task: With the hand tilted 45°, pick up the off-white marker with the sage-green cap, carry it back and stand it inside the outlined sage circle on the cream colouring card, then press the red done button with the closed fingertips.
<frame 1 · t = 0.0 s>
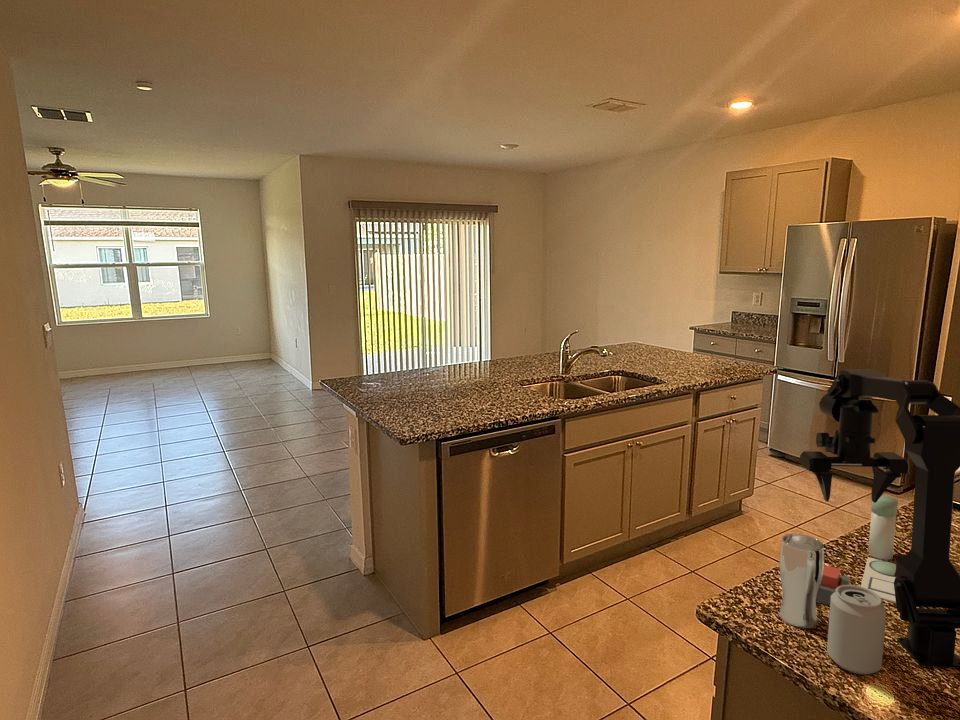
hand: (850, 501, 119), 15 cm above the counter, tool pointing down, fingers open, 9 cm apart
button housing: (824, 593, 111), on the counter
can: (853, 663, 92), on the counter
colouring card: (886, 580, 115), on the counter
beer glass: (797, 619, 104), on the counter
done button: (825, 577, 111), point 4 cm above the counter, slide at 0.0 cm
marker: (880, 554, 125), on the counter
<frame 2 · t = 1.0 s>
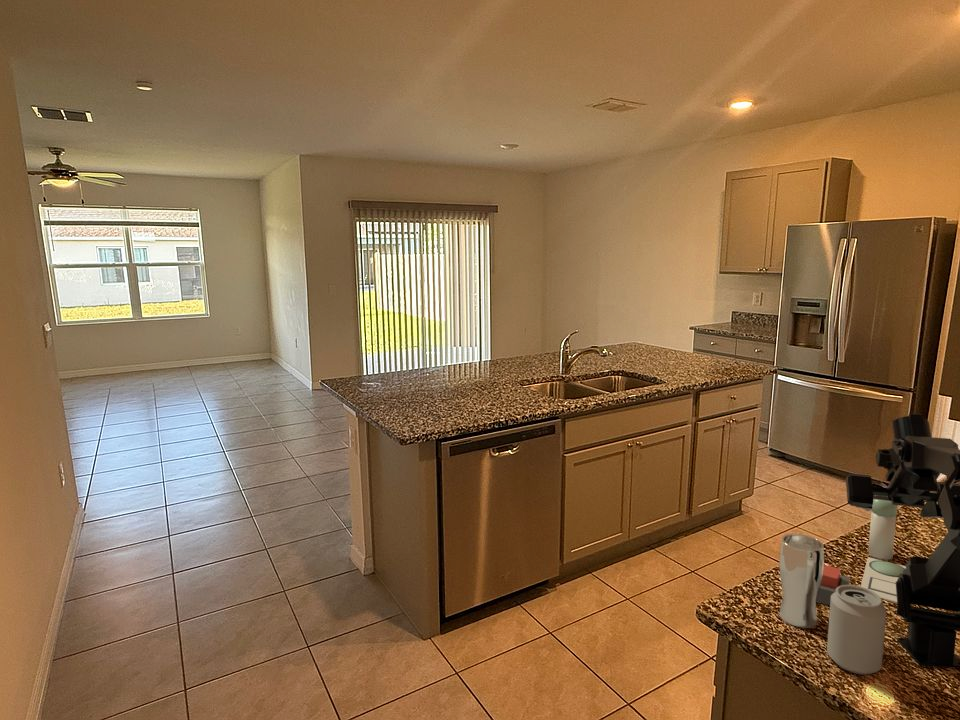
hand: (893, 511, 116), 13 cm above the counter, tool tilted 45°, fingers open, 9 cm apart
nothing on the counter moved.
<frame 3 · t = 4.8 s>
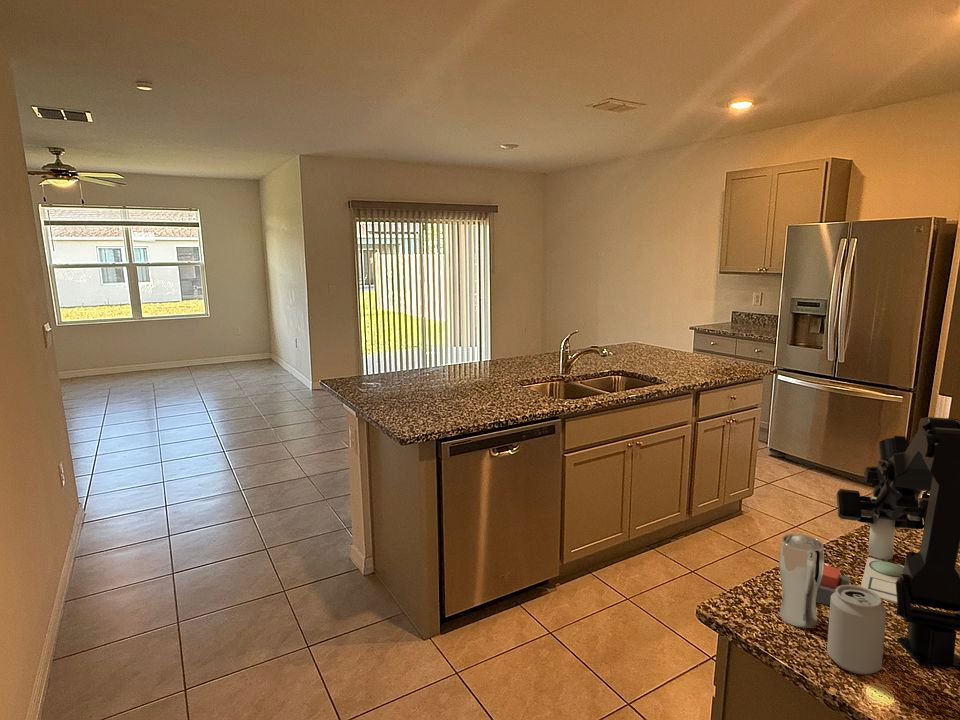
hand: (881, 524, 125), 7 cm above the counter, tool tilted 45°, fingers closed on marker, 4 cm apart
marker: (880, 554, 125), on the counter, touching gripper
everything else where it was.
when the fingers open (8 cm above the counter, at t = 8.3 s): marker drops 1 cm, resting on colouring card.
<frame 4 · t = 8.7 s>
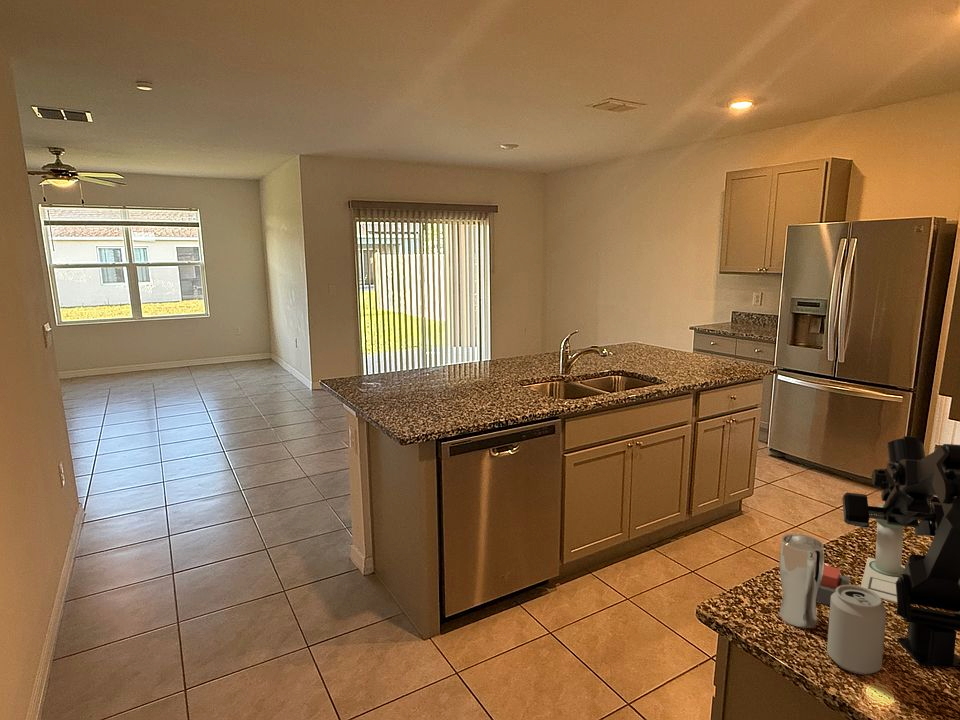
hand: (889, 529, 119), 8 cm above the counter, tool tilted 45°, fingers open, 9 cm apart
marker: (887, 568, 119), resting on colouring card
everything else where it was.
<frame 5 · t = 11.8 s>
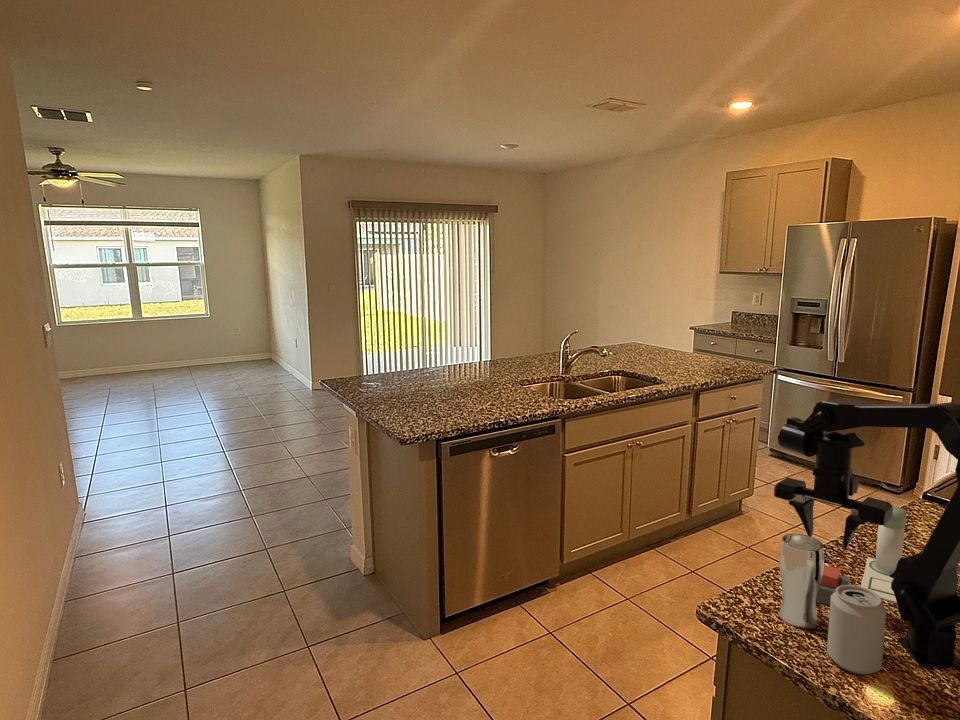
hand: (827, 541, 109), 11 cm above the counter, tool pointing down, fingers open, 6 cm apart
nothing on the counter moved.
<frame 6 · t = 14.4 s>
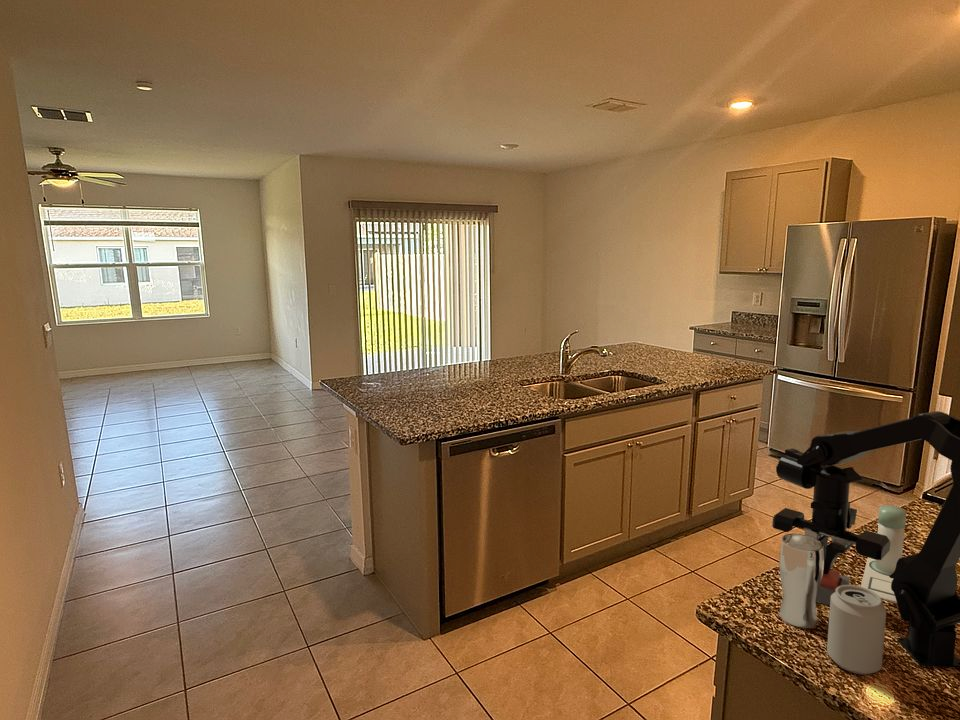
hand: (825, 573, 110), 4 cm above the counter, tool pointing down, fingers closed, pressing on done button
done button: (824, 580, 111), point 3 cm above the counter, slide at 0.6 cm, touching gripper
everything else where it was.
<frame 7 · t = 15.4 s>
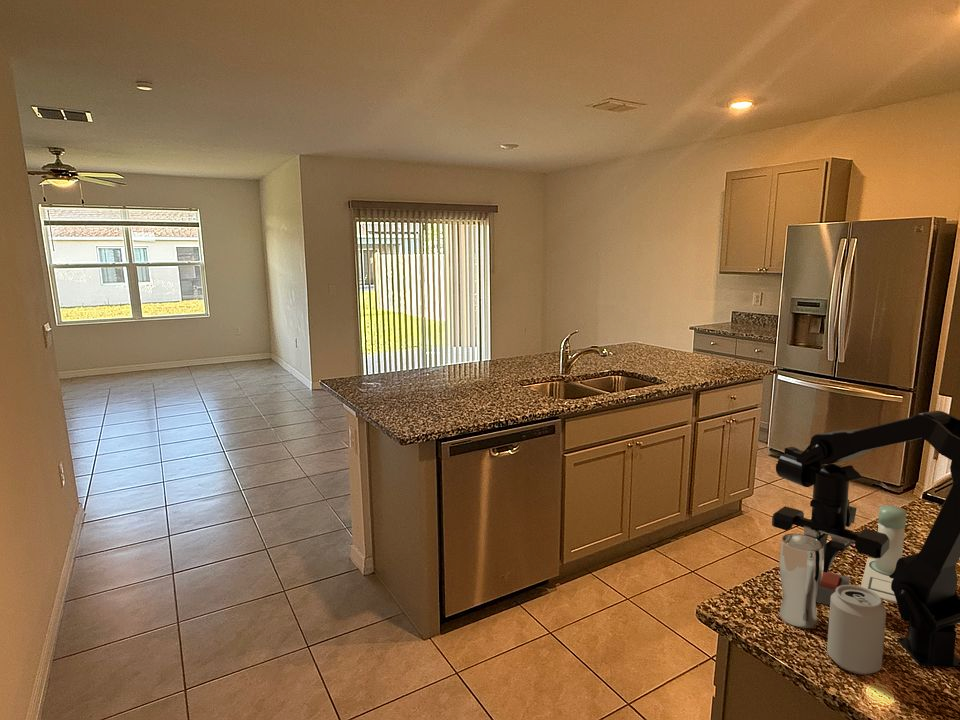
hand: (825, 571, 111), 5 cm above the counter, tool pointing down, fingers closed
done button: (824, 583, 111), point 2 cm above the counter, slide at 1.4 cm
everything else where it was.
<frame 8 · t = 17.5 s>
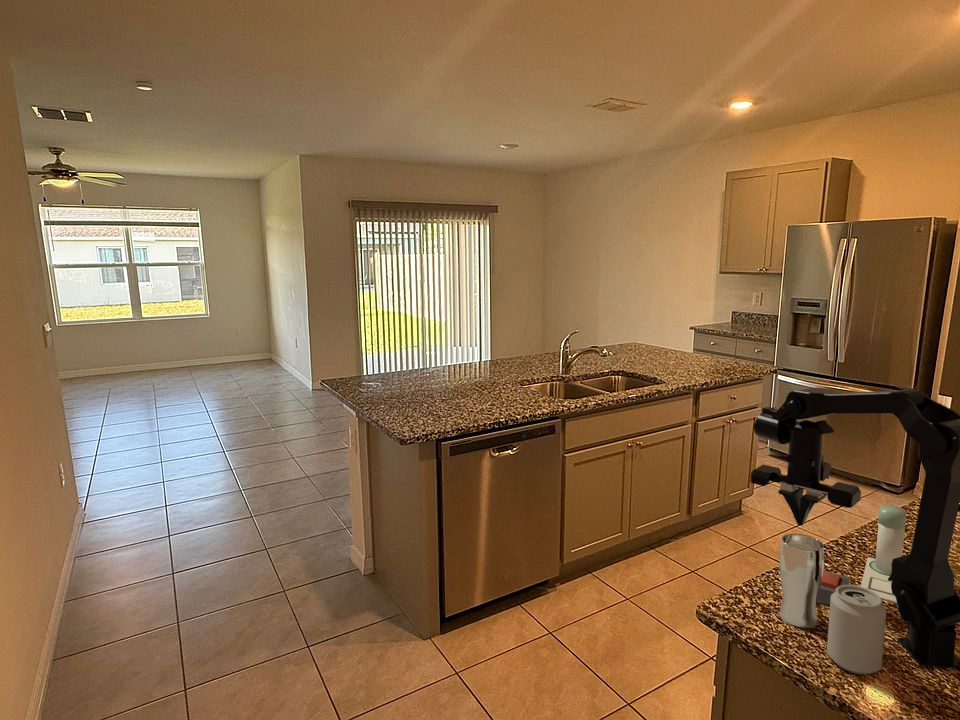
hand: (800, 524, 115), 12 cm above the counter, tool pointing down, fingers closed
nothing on the counter moved.
at the end: marker 0.1 cm from the target spot, resting on colouring card; marker tilted 0°; done button slide at 1.4 cm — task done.
